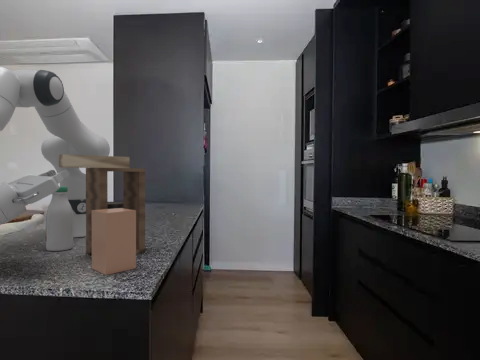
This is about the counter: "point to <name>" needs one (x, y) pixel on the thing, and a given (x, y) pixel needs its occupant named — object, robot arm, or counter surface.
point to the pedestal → (113, 240)
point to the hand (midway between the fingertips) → (60, 172)
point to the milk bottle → (59, 222)
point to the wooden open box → (131, 199)
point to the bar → (93, 161)
